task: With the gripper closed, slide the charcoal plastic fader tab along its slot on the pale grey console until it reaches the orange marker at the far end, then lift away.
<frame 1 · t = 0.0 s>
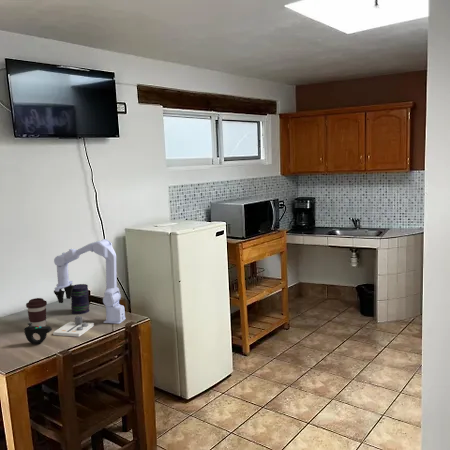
hand: (64, 300, 251), 10 cm above the table, tool pointing down, fingers open, 7 cm apart
console: (74, 330, 234), on the table
controller: (39, 343, 219), on the table
fader tab: (78, 320, 239), point 4 cm above the table, slide at 0.0 cm
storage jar: (80, 311, 264), on the table
coffee cup: (38, 328, 240), on the table
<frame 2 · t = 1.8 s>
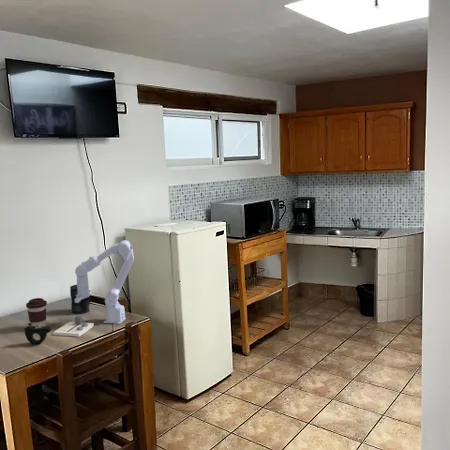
hand: (84, 311, 245), 6 cm above the table, tool pointing down, fingers closed
nothing on the table moved.
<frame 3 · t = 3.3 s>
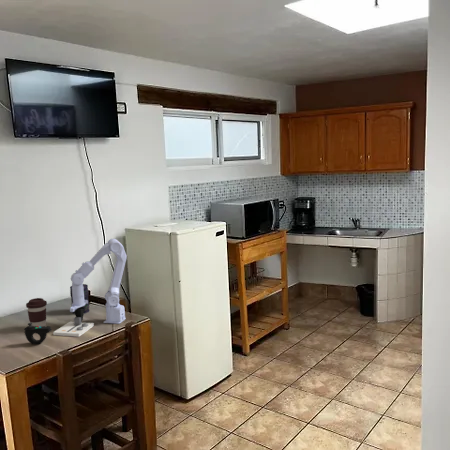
hand: (80, 320, 240), 3 cm above the table, tool pointing down, fingers closed
fader tab: (77, 321, 238), point 4 cm above the table, slide at 1.0 cm, touching gripper
everything else where it was.
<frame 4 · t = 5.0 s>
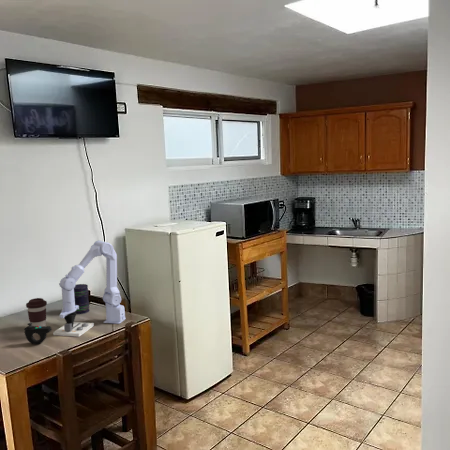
hand: (70, 327, 231), 3 cm above the table, tool pointing down, fingers closed
fader tab: (68, 327, 229), point 4 cm above the table, slide at 10.1 cm, touching gripper
everything else where it was.
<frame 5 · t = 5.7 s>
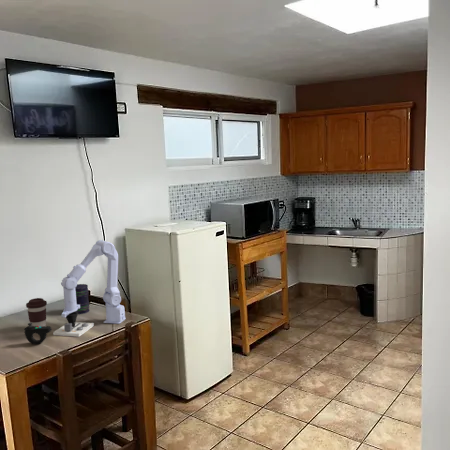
hand: (72, 326, 232), 3 cm above the table, tool pointing down, fingers closed
fader tab: (68, 327, 229), point 4 cm above the table, slide at 10.1 cm
everything else where it was.
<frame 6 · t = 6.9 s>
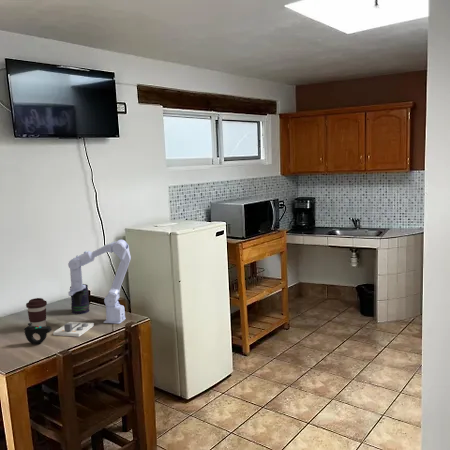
hand: (78, 305, 245), 9 cm above the table, tool pointing down, fingers closed
nothing on the table moved.
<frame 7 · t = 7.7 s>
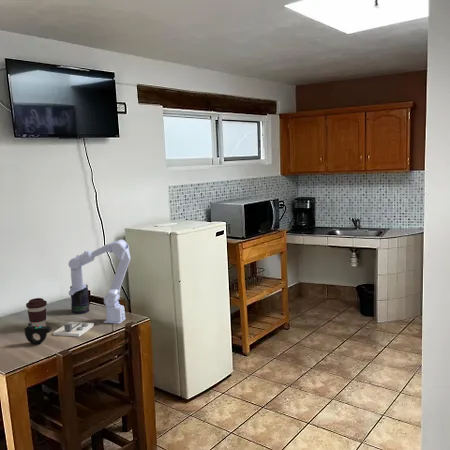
hand: (78, 304, 246), 9 cm above the table, tool pointing down, fingers closed
nothing on the table moved.
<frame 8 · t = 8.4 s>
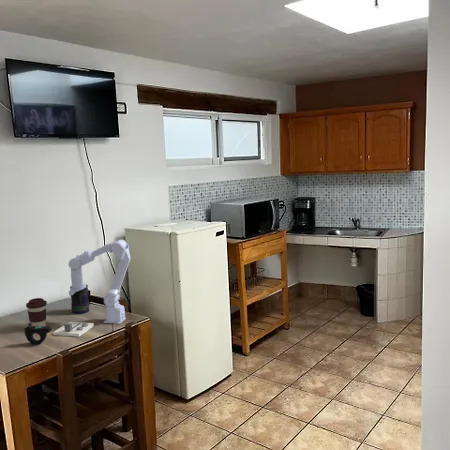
hand: (78, 304, 246), 9 cm above the table, tool pointing down, fingers closed
nothing on the table moved.
at the end: fader tab slide at 10.1 cm; the gripper is holding nothing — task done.
